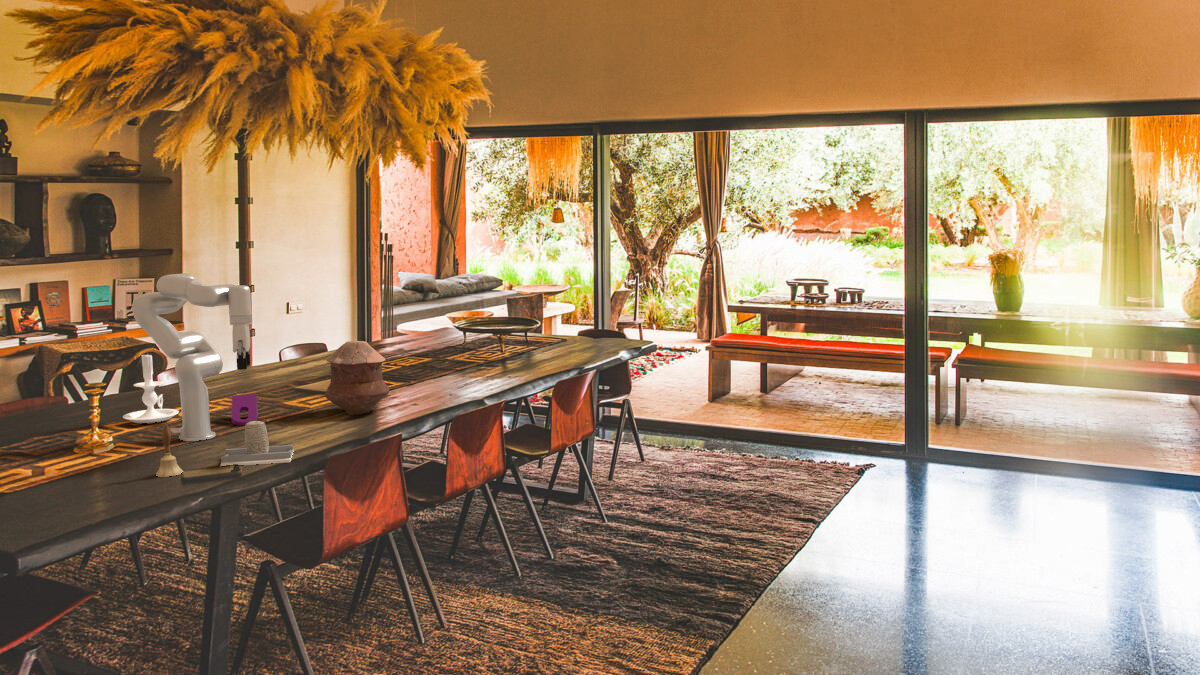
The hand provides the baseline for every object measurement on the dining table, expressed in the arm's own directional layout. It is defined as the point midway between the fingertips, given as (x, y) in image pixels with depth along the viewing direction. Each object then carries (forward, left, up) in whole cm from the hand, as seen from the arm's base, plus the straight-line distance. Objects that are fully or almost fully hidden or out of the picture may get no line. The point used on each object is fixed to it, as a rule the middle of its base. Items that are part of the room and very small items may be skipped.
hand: (243, 367), depth 337 cm
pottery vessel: (+38, +45, -28) cm, 65 cm away
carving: (+6, -24, -28) cm, 37 cm away
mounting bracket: (-6, +41, -29) cm, 50 cm away
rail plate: (+6, -24, -28) cm, 38 cm away
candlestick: (-43, +52, -29) cm, 73 cm away
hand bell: (-20, -35, -29) cm, 49 cm away
